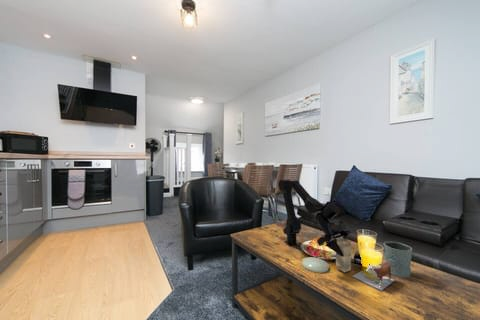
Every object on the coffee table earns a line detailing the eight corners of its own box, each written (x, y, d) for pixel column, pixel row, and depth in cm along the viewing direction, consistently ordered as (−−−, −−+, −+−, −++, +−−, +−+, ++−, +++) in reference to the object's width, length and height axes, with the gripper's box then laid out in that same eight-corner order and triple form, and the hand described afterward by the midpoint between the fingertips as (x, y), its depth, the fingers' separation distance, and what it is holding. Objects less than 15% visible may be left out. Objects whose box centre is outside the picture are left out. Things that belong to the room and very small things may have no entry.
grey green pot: (388, 276, 85) (388, 248, 85) (380, 264, 94) (380, 239, 95) (417, 280, 81) (417, 252, 82) (406, 268, 91) (406, 242, 91)
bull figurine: (363, 283, 80) (363, 263, 80) (384, 275, 85) (384, 257, 85) (374, 290, 76) (374, 269, 76) (395, 281, 81) (395, 261, 81)
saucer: (297, 261, 98) (297, 258, 98) (317, 258, 101) (317, 255, 101) (311, 274, 86) (311, 271, 86) (334, 270, 89) (334, 268, 89)
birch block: (335, 267, 90) (335, 239, 90) (341, 265, 92) (341, 237, 92) (344, 272, 86) (344, 243, 86) (350, 269, 88) (350, 241, 88)
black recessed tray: (343, 262, 98) (343, 253, 98) (347, 257, 103) (347, 248, 103) (373, 271, 89) (373, 261, 89) (375, 265, 95) (375, 256, 95)
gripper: (322, 218, 88) (345, 252, 78) (347, 212, 97) (371, 243, 87) (308, 229, 95) (328, 262, 85) (333, 224, 104) (353, 253, 94)
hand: (346, 255), depth 88 cm, fingers closed on birch block, 4 cm apart
